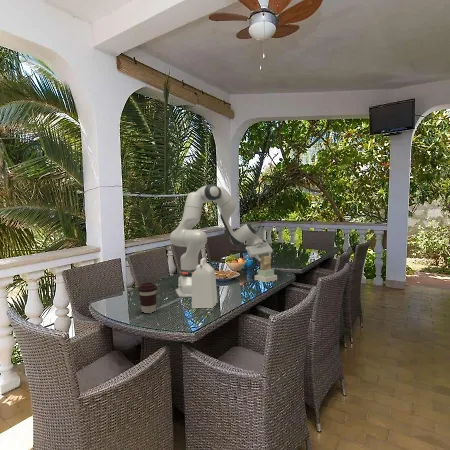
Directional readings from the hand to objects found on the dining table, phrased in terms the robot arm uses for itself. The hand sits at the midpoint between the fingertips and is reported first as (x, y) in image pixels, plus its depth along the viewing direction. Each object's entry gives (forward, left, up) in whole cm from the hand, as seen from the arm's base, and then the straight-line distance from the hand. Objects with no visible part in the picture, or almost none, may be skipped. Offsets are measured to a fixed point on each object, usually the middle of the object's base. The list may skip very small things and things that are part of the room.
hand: (265, 259), depth 244 cm
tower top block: (0, 0, -11) cm, 11 cm away
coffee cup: (-51, +74, -15) cm, 92 cm away
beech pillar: (0, 0, -7) cm, 7 cm away
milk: (-46, +44, -15) cm, 66 cm away
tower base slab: (0, 0, -15) cm, 15 cm away
